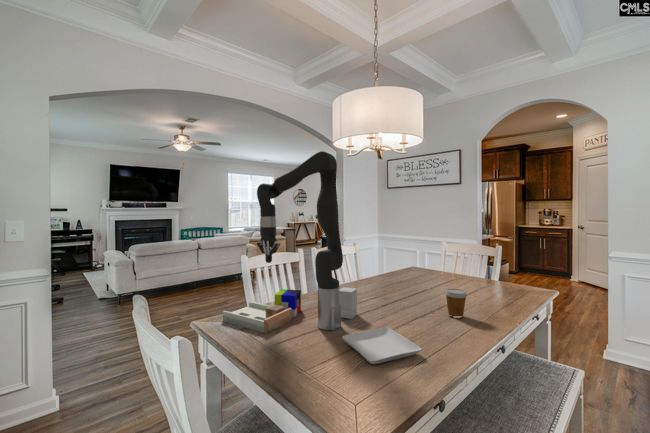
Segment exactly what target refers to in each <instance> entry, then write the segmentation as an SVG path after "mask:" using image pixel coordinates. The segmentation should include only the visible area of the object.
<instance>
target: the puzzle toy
mask: <svg viewBox="0 0 650 433" xmlns="http://www.w3.org/2000/svg"><path fill="white" fill-rule="evenodd" d="M301 294H302V293H301V290H300V289H287V288H285V289H283V288H282V289H280V290H279V291H277V292H276V293H275V294H274V305H279V306H283V307H285V309H288V308H292V317H293V318H295V317H296V316H297V315H298V314H299V313H300V311H302V309H301V308H302V307H301V306H302V302H301V301H302V298H301V297H302V295H301Z"/></svg>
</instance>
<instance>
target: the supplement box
mask: <svg viewBox="0 0 650 433" xmlns="http://www.w3.org/2000/svg"><path fill="white" fill-rule="evenodd" d="M339 304H341V319H342V318H343V319H344V318H345V319H350V320H353V319H354V318H355V317H356V316H357V315H358V292H357V288H354V287H353V288H352V287H345V286H343V287H341V288H339Z"/></svg>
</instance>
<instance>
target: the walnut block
mask: <svg viewBox="0 0 650 433" xmlns="http://www.w3.org/2000/svg"><path fill="white" fill-rule="evenodd" d="M269 306H270V307H267V308H266V317H267V318H268V317H271V316H273V315H275V314H277V313H279V312H282V311H284V310H285V307H283V306H279V305H275V304H272V305H269Z"/></svg>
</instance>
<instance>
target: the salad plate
mask: <svg viewBox="0 0 650 433" xmlns="http://www.w3.org/2000/svg"><path fill="white" fill-rule="evenodd" d="M341 337H342V340H343V341H344V342H345V343H346V344H347V345H349V346H350V347H351V348H353V349H354V350H355V351H356V352H358V354H360V356H362V357H363V358H364V359H365V360H366V361H367V362H368V363H369V364H371V365H378V364H382V363H385V362H390V361H394V360H398V359H402V358H406V357H410V356H415V355H416V354H419V353H421V351H422V347H420V346H419V345H418V344H416V343H414V342H412V341H411V340H409V339H408V338H407V337H405V336H403V335H401V334H399V332H397V331H395V330H394V329H392V328H390V327H388V326H386V327H380V328H376V329H375V328H374V329H370V330H364V331H360V332H355V333H350V334H346V335H342V336H341Z"/></svg>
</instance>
